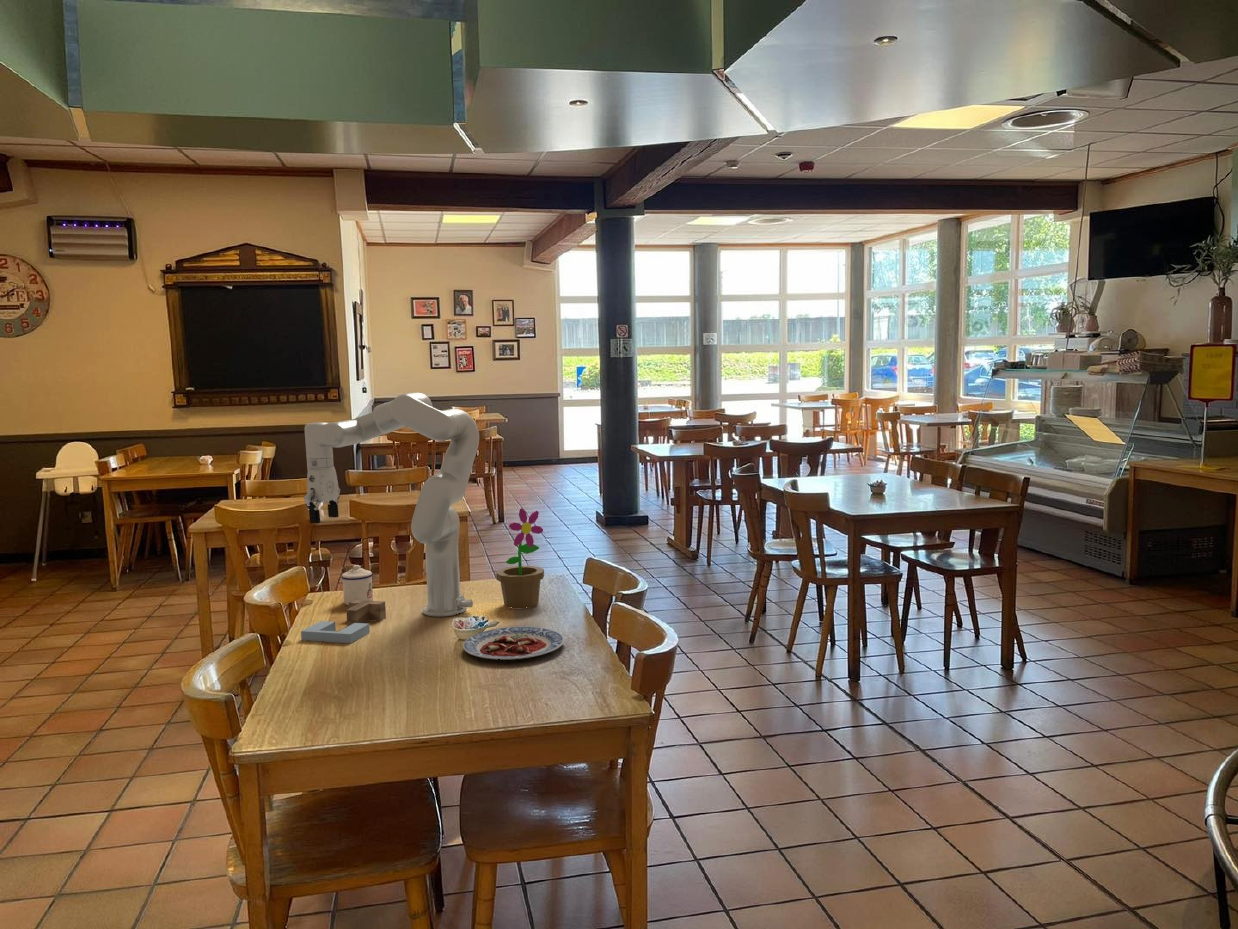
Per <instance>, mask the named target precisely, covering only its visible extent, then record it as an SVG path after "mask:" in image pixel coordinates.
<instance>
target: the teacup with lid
mask: <svg viewBox="0 0 1238 929" xmlns="http://www.w3.org/2000/svg"><path fill="white" fill-rule="evenodd" d="M352 567H353V568H351V569H350V570H348V571H346V572H343V573H342V574H341V579H342V588H343V589H342V590H343V603H344V604H345V605H346V606H349V602H351V601H353V600H366V601H374V594H373V577H372V576H373V572H372V571H371V570H367V569H364V568H362V567H361V566H360V565H359V564H355V565H353V566H352Z"/></svg>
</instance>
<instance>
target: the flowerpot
mask: <svg viewBox="0 0 1238 929" xmlns="http://www.w3.org/2000/svg"><path fill="white" fill-rule="evenodd" d="M518 512H519V513H518V516H519V517H518V518H519V521H520V522H521V523H522V524H521V523H520V522H511V523H509V525H508V528H509V529H511V531H514V532H515V531H516V532H519V531H520V532H519V533H518V534H516V536H515V538H514V540H513V545H514V546H515V547H517V546H518V548H517V556H511V557H509V558H508V559H507V560H506V564H508V565H513V566H508V567H507V566H506V567H504V568H501V569H498V570H497V572H496V573H495V574H496V576H495V577H496V581H498V582H500V588H501V594H502V598H503V605H504V606H505V605H506V606H507V607H512V608H526V607H532V608H534V607H536V606H535V605H537V604H538V605H539V600H540V591H541V580H543V578H544V577H545V569H544V568H542V567H540V566H535V565H523V564H522V554H523V553H524V554H526V555H527V554H531V553H534V552H536V551H538V550H539V549H540V546H538V545H537V544H534V542H535V541H534V538H533V535H532V534H537V535H540V534H542V533H544V528H542V527H541V526H539V525H533V524H534V523H536V521H537V520H538V518H539V513H540V512H539V511H538V510H534V511H533V512H532V513H531V514H530V515H529V517H528V514H527V511H525V509H524V508H523V507H521V508H519V511H518ZM527 521H528V522H527ZM532 525H533V526H532ZM531 532H532V534H531ZM524 539H525V542H526V543H524V544H522V543H523V540H524ZM517 563H518V565H515V564H517ZM514 565H515V566H514ZM538 605H537V606H538ZM506 606H505V607H506ZM533 606H534V607H533ZM507 607H506V608H507ZM512 608H511V609H512ZM526 609H527V608H526Z"/></svg>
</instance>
